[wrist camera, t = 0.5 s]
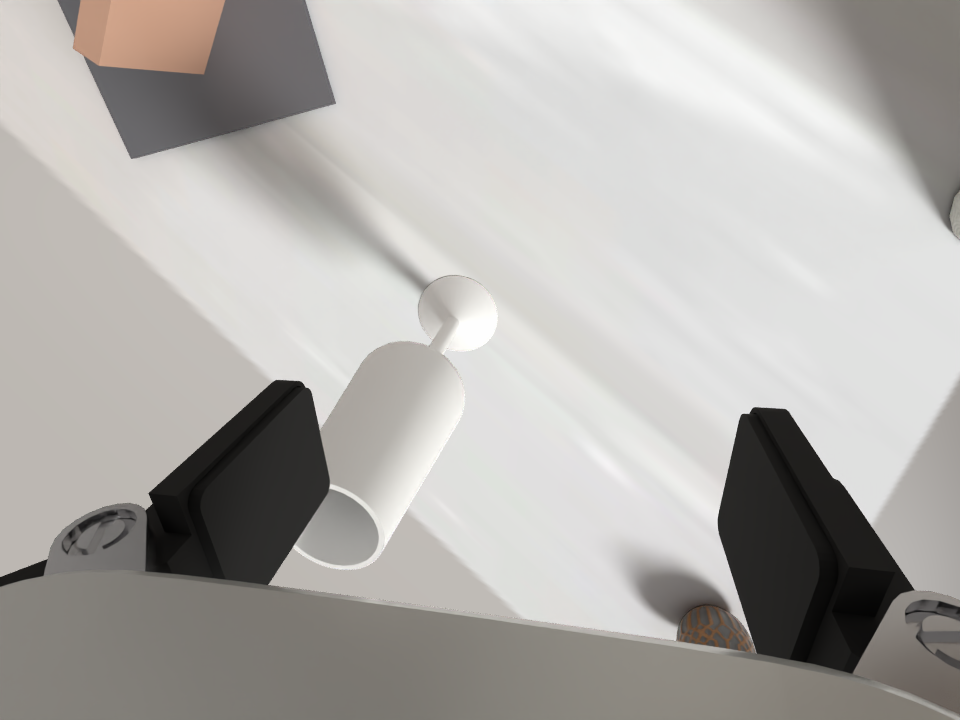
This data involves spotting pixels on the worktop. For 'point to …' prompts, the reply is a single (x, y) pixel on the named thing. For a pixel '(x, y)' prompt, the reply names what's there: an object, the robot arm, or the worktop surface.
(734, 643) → the patterned egg
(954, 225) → the grey tall block
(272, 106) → the mat
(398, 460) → the champagne flute
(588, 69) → the worktop surface
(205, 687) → the robot arm
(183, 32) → the tile
